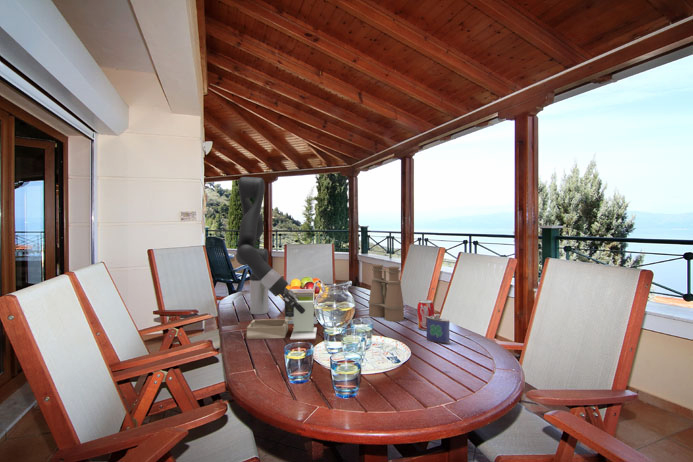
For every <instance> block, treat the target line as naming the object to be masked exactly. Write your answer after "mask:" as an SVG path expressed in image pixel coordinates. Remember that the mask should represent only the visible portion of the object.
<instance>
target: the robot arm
mask: <svg viewBox="0 0 693 462" xmlns="http://www.w3.org/2000/svg"><path fill="white" fill-rule="evenodd" d="M237 186H238V195H239V199H240V204H241V210H242V218H241V221H240V224H239V235H238V236H239V237H238V243H237V249H236V254H235V258H236V261H237V262H238V264H239V265H242V266H248V268H250V270H251V273H250V275H249V309H250V311H249V312H250V315H266V314H268V313H269V310H270V309H269V292H270V293H271V294H272V295H273V296H274V297H277V296H279V295H280V296H281V299H282V301H283V302H284V303H285V302H286V303H287V304H288V305H290V306H291V307H292V308H296V309H297V310H298V311H299V312H300V313H301V314H303V313H304V312H305V309H304V308H303V307H302V306H301V305H300V304H299V303H298V302H297V301H300V300H299V298H298V297H297V296H296V295H295V294H294V293H293V291H292V290H290V289H288V285H289V282H288V281H287V280H286V279H284V277H283V276H281V274H280V273H279V272H277V271H276V270H274V269H273V268H272V267H271V265H270V264H269V251H268V249H267V248H255V245H256V243H257V242H258V240H259V239H260V238H261V237H262V235H263V233H264V230H265V229H264V220H263V216H262V214H261V210H262V207H263V206H262V205H263V201H264V197H265V189H266V188H265V187H266V186H265V180H264V178H263V177H252V176H241V177H240V178H239V180H238V185H237ZM250 199H254V201H253V204H252V202H251V200H250ZM292 303H293V304H292Z"/></svg>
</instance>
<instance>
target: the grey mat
mask: <svg viewBox="0 0 693 462" xmlns="http://www.w3.org/2000/svg"><path fill="white" fill-rule="evenodd" d="M317 330H318V328H317V327H315V326H314V331H294V328H293V329H292V332H291V335H290V337H289V339H290V340H316V338H317V332H318V331H317Z"/></svg>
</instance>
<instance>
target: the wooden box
mask: <svg viewBox="0 0 693 462" xmlns="http://www.w3.org/2000/svg"><path fill="white" fill-rule="evenodd" d="M288 330H289V324H288V319H285V318H279V319H278V318H276V319H275V318H273V319H270V318H269V319H267V318H266V319H252V321H251V322H250V323H249V324H248V325H247V326H246V339H247V340H254V339H255V340H257V339H258V340H259V339H285V338H286V336H287V333H288Z"/></svg>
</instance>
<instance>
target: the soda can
mask: <svg viewBox="0 0 693 462" xmlns="http://www.w3.org/2000/svg"><path fill="white" fill-rule="evenodd" d="M416 312H417V314H416V315H417V318H416V319H417V327H418V328H419V329H420V330H421V331H426V332H427V317H430V316H432V317H433V316H434V317H435V306H434V303H433V300H430V299H420V300H418V303H417V311H416Z"/></svg>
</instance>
